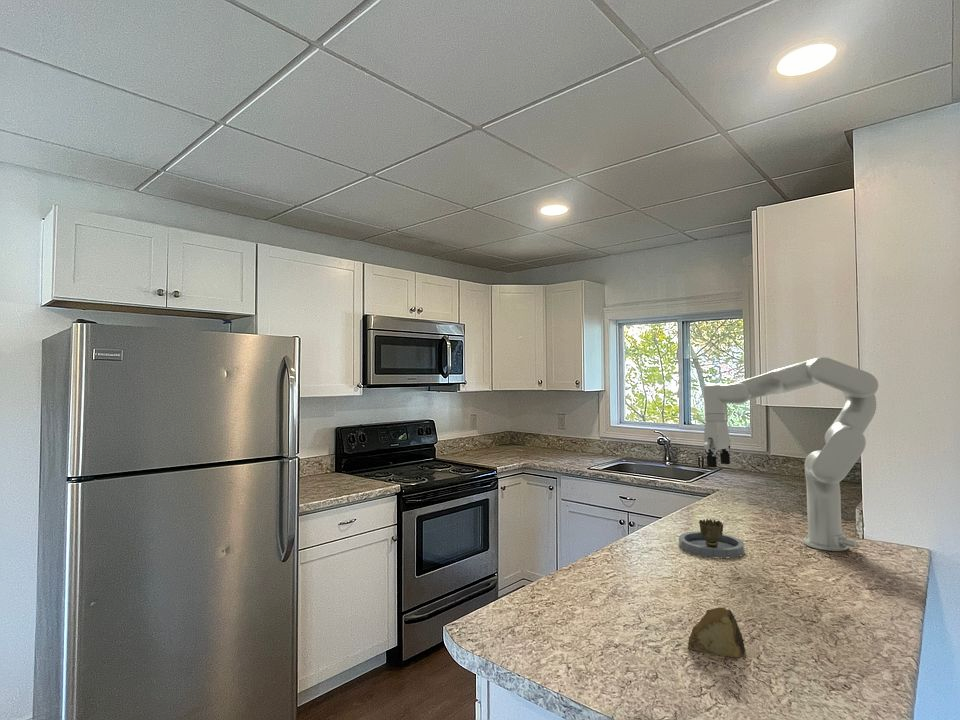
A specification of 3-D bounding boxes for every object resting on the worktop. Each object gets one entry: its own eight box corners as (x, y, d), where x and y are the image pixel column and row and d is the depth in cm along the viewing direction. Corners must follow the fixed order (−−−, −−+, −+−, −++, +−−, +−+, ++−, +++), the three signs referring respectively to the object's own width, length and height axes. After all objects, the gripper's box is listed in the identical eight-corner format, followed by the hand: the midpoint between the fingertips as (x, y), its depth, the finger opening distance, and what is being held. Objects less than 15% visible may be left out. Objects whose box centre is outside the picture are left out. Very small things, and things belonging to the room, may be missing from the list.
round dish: (756, 549, 172) (756, 541, 172) (724, 562, 160) (724, 554, 160) (699, 535, 188) (699, 528, 188) (666, 546, 176) (666, 538, 176)
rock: (676, 641, 108) (725, 652, 101) (682, 599, 113) (729, 607, 106) (699, 659, 113) (747, 671, 106) (704, 618, 118) (751, 627, 111)
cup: (726, 550, 170) (725, 525, 170) (702, 548, 172) (702, 524, 172) (720, 542, 177) (720, 519, 178) (697, 541, 179) (697, 518, 179)
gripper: (717, 416, 198) (720, 461, 197) (694, 419, 187) (696, 467, 186) (737, 416, 192) (740, 463, 191) (714, 420, 181) (717, 469, 180)
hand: (718, 465), depth 188 cm, fingers open, 9 cm apart
